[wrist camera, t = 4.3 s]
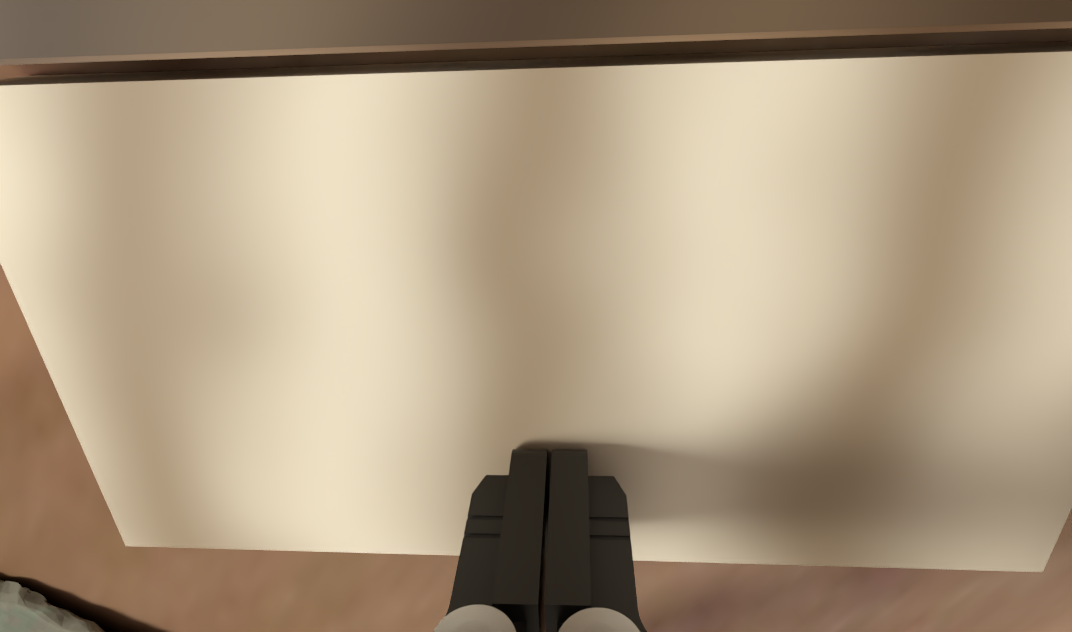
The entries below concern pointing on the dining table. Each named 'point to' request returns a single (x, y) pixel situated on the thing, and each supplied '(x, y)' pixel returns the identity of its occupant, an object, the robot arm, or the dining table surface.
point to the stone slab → (36, 613)
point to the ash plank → (564, 296)
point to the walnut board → (464, 24)
